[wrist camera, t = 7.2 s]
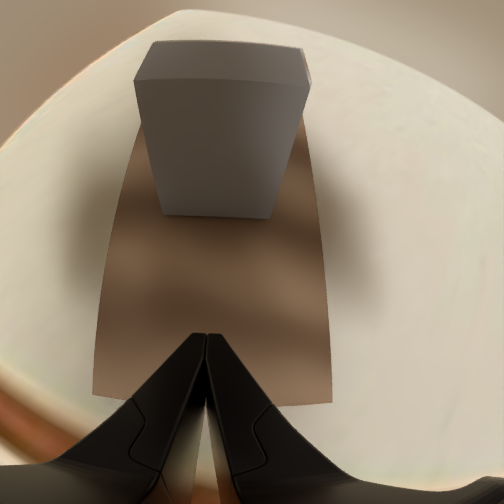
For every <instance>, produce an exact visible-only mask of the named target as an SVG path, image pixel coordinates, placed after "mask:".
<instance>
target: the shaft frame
mask: <svg viewBox="0 0 504 504" xmlns="http://www.w3.org/2000/svg"><path fill="white" fill-rule="evenodd" d="M173 41H220V42H240V43H253V44H264V45H273V46H282V45H274V44H265V43H254V42H242V41H223V40H170V41H155V42H173ZM282 47H289V48H296V49H300V52H301V55H302V59H303V62H304V66H305V70H306V73H307V77H308V81H309V85H310V87H311V84H312V80H311V76H310V73H309V69H308V66H307V62H306V59H305V55H304V52H303V49H302V48H297V47H290V46H282ZM193 332H195V333H206V335H207V334H208V333H220V334H222V335H223V336H224V338H225V339H226V341H227V342H228V343H229V345H230V346H231V348H232V349H233V350H234V352H235V353H236V354H237V356H238V357H239V359H240V360H241V361H242V363H243V364H244V365H245V367H246V368H247V369H248V371H249V372H250V373H251V375H252V376H253V377H254V379H255V380H256V381H257V383H258V384H259V385H260V387H261V388H262V389H263V391H264V392H265V393H266V395H267V396H268V397H269V398H270V400H271V401H272V403H273V404H274V405H275V406H295V405H309V404H320V403H331V402H332V371H331V351H330V334H329V319H328V306H327V293H326V282H325V272H324V262H323V252H322V243H321V234H320V226H319V218H318V210H317V203H316V195H315V188H314V181H313V175H312V168H311V162H310V155H309V149H308V143H307V137H306V132H305V126H304V120H303V115H302V117H301V120H300V123H299V126H298V130H297V133H296V136H295V140H294V143H293V146H292V149H291V153H290V156H289V159H288V162H287V166H286V169H285V172H284V175H283V179H282V182H281V185H280V188H279V192H278V195H277V198H276V201H275V204H274V208H273V211H272V214H271V217H270V219H258V218H237V217H213V216H184V215H163V213H162V209H161V205H160V201H159V197H158V193H157V189H156V185H155V181H154V177H153V173H152V169H151V164H150V160H149V156H148V151H147V147H146V142H145V137H144V133H143V128H142V123H141V125H140V128H139V131H138V134H137V137H136V141H135V144H134V147H133V150H132V154H131V157H130V160H129V164H128V167H127V171H126V175H125V178H124V182H123V186H122V190H121V194H120V198H119V202H118V206H117V210H116V215H115V219H114V224H113V228H112V233H111V238H110V243H109V248H108V253H107V259H106V265H105V270H104V277H103V283H102V290H101V297H100V304H99V312H98V321H97V331H96V341H95V354H94V369H93V394H92V395H98V396H104V397H110V398H117V399H124V400H128V399H129V398H131V396H132V395H133V394H134V393H135V392H136V390H137V389H138V388H139V387H140V386H141V385H142V384H143V383H144V382H145V381H146V380H147V379H148V378H149V377H150V376H151V375H152V374H153V373H154V372H155V371H156V370H157V369H158V368H159V367H160V366H161V365H162V364H163V362H164V361H165V360H166V359H167V358H168V357H169V356H170V355H171V354H172V353H173V352H174V351H175V350H176V349H177V348H178V347H179V346H180V345H181V344H182V343H183V342H184V341H185V339H186V338H187V337H188V336H189V335H190V334H191V333H193Z"/></svg>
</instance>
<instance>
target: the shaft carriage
mask: <svg viewBox="0 0 504 504" xmlns="http://www.w3.org/2000/svg"><path fill="white" fill-rule="evenodd" d="M133 81H134V86H135V92H136V97H137V103H138V108H139V113H140V118H141V123H142V128H143V133H144V137H145V142H146V147H147V151H148V156H149V160H150V164H151V169H152V173H153V177H154V181H155V185H156V189H157V193H158V197H159V201H160V205H161V209H162V213H163V215H184V216H213V217H237V218H258V219H270V217H271V214H272V211H273V208H274V204H275V201H276V198H277V195H278V192H279V188H280V185H281V182H282V179H283V175H284V172H285V169H286V166H287V162H288V159H289V156H290V153H291V149H292V146H293V143H294V140H295V136H296V133H297V130H298V126H299V123H300V120H301V117H302V113H303V110H304V107H305V103H306V100H307V97H308V94H309V90H310V85H309V81H308V77H307V73H306V70H305V66H304V62H303V59H302V55H301V52H300V49H296V48H289V47H282V46H273V45H264V44H253V43H240V42H220V41H173V42H153V44H152V45H151V47H150V49H149V51H148V53H147V55H146V57H145V59H144V60H143V62H142V64H141V66H140V68H139V70H138V72H137V74H136V76H135V78H134V80H133Z"/></svg>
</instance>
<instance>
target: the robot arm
mask: <svg viewBox="0 0 504 504" xmlns="http://www.w3.org/2000/svg"><path fill="white" fill-rule="evenodd" d="M205 407H206V408H207V417H208V425H209V432H210V439H211V446H212V452H213V459H214V465H215V471H216V477H217V483H218V489H219V494H220V500H221V504H504V478H500V477H491V476H485V477H482V478H480V479H478V480H476V481H474V482H472V483H471V484H469V485H467V486H465V487H462V488H459V489H456V490H451V491H442V492H435V491H423V490H414V489H407V488H400V487H394V486H388V485H382V484H377V483H372V482H367V481H363V480H359V479H357V478H354V477H352V476H350V475H349V474H347V473H345V472H344V471H342V470H341V469H340V468H339V467H337V466H336V465H335V464H334V463H333V462H331V461H330V460H329V459H328V458H327V457H326V456H324V455H323V454H322V453H321V452H320V451H319V450H318V449H316V448H315V447H314V446H313V445H312V444H311V443H310V442H309V441H307V440H306V439H305V438H304V437H303V436H302V435H301V434H300V433H299V432H298V431H297V430H296V429H295V428H294V427H293V426H292V425H291V424H290V423H289V422H288V421H287V419H286V418H285V417H284V416H283V415H282V414H281V412H280V411H279V410H278V409H277V407H276V406H275V405H274V404H273V403H272V401H271V400H270V398H269V397H268V396H267V395H266V393H265V392H264V391H263V389H262V388H261V387H260V385H259V384H258V383H257V381H256V380H255V379H254V377H253V376H252V375H251V373H250V372H249V371H248V369H247V368H246V367H245V365H244V364H243V363H242V361H241V360H240V359H239V357H238V356H237V354H236V353H235V352H234V350H233V349H232V348H231V346H230V345H229V343H228V342H227V341H226V339H225V338H224V336H223V335H222V334H220V333H208V334H207V335H206V333H195V332H193V333H191V334H190V335H189V336H188V337H187V338H186V339H185V341H184V342H183V343H182V344H181V345H180V346H179V347H178V348H177V349H176V350H175V351H174V352H173V353H172V354H171V355H170V356H169V357H168V358H167V359H166V360H165V361H164V362H163V364H162V365H161V366H160V367H159V368H158V369H157V370H156V371H155V372H154V373H153V374H152V375H151V376H150V377H149V378H148V379H147V380H146V381H145V382H144V383H143V384H142V385H141V386H140V387H139V388H138V389H137V390H136V392H135V393H134V394H133V395H132V396H131V398H129V399H128V400H127V401H126V402H125V403H124V404H123V405H122V406H121V407H120V408H119V409H118V410H117V411H115V412H114V413H113V414H112V415H111V416H110V417H109V418H108V419H107V420H105V421H104V422H103V423H102V424H101V425H99V426H98V427H97V428H96V429H94V430H93V431H92V432H91V433H89V434H88V435H87V436H85V437H84V438H83V439H81V440H80V441H79V442H77V443H76V444H75V445H73V446H72V447H71V448H69V449H68V450H67V451H65V452H64V453H63V454H61V455H60V456H58V457H56V458H54V459H52V460H50V461H47V462H44V463H39V464H27V465H4V466H0V504H190V503H191V497H192V490H193V483H194V477H195V470H196V464H197V457H198V451H199V445H200V439H201V432H202V426H203V420H204V414H205Z"/></svg>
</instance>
